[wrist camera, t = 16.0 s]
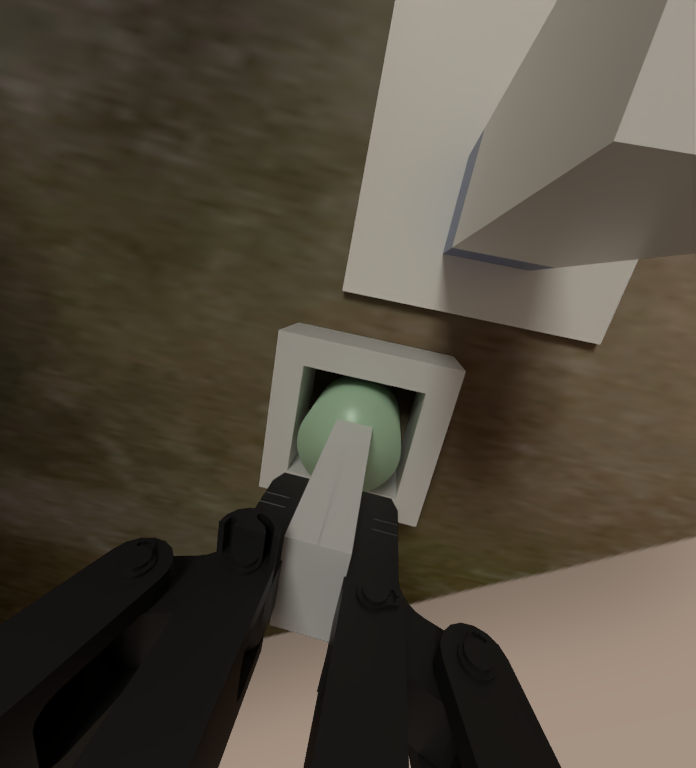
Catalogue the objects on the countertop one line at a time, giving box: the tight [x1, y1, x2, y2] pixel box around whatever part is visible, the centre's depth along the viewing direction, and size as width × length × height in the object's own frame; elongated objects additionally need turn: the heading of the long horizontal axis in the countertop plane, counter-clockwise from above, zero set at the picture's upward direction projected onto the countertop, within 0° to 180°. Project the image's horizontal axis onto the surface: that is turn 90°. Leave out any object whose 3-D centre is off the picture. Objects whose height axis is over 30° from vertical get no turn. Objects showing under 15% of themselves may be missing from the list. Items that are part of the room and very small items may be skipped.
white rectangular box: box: [443, 0, 696, 271], centre depth 8 cm, size 4×4×12 cm
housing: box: [259, 322, 466, 527], centre depth 16 cm, size 8×8×3 cm
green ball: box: [297, 375, 401, 492], centre depth 15 cm, size 4×4×4 cm
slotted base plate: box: [342, 0, 638, 345], centre depth 13 cm, size 16×12×1 cm
